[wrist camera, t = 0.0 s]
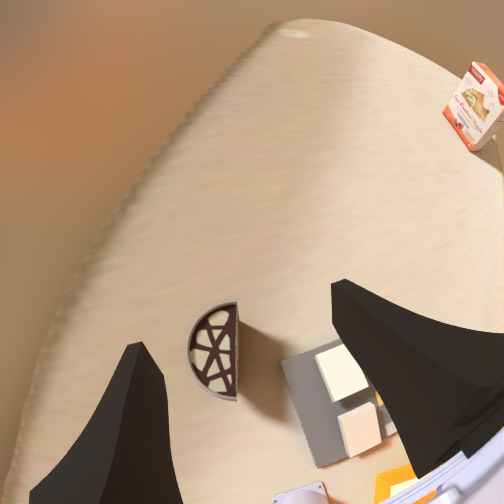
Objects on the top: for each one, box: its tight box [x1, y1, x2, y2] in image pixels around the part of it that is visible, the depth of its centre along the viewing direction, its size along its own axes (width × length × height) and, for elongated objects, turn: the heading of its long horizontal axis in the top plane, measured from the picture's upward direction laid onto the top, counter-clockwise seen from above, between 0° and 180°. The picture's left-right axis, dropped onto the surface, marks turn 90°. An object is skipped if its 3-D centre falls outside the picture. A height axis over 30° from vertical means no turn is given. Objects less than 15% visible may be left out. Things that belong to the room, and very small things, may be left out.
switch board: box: [280, 339, 397, 469], centre depth 37 cm, size 18×14×3 cm
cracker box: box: [443, 61, 504, 151], centre depth 49 cm, size 14×6×21 cm, turn 16°
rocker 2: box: [337, 402, 381, 458], centre depth 33 cm, size 7×5×2 cm
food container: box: [185, 300, 239, 401], centre depth 36 cm, size 12×6×10 cm, turn 0°
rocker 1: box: [315, 344, 368, 402], centre depth 36 cm, size 7×5×2 cm
